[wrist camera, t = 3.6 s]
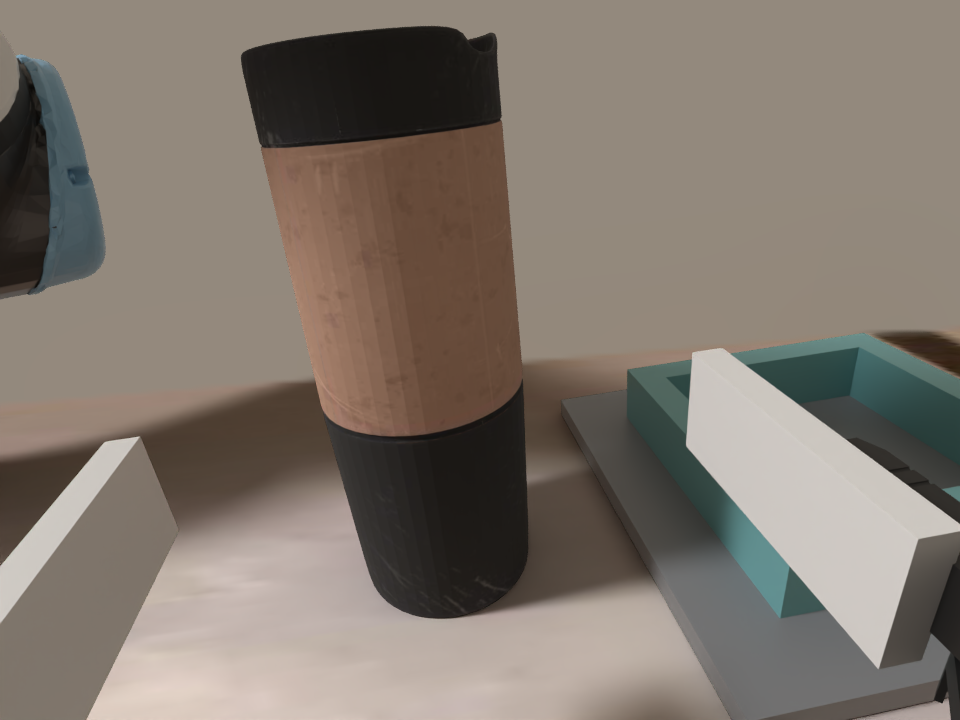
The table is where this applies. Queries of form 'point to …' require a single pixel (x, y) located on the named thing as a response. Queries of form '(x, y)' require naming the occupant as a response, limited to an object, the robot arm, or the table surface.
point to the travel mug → (406, 296)
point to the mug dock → (740, 545)
